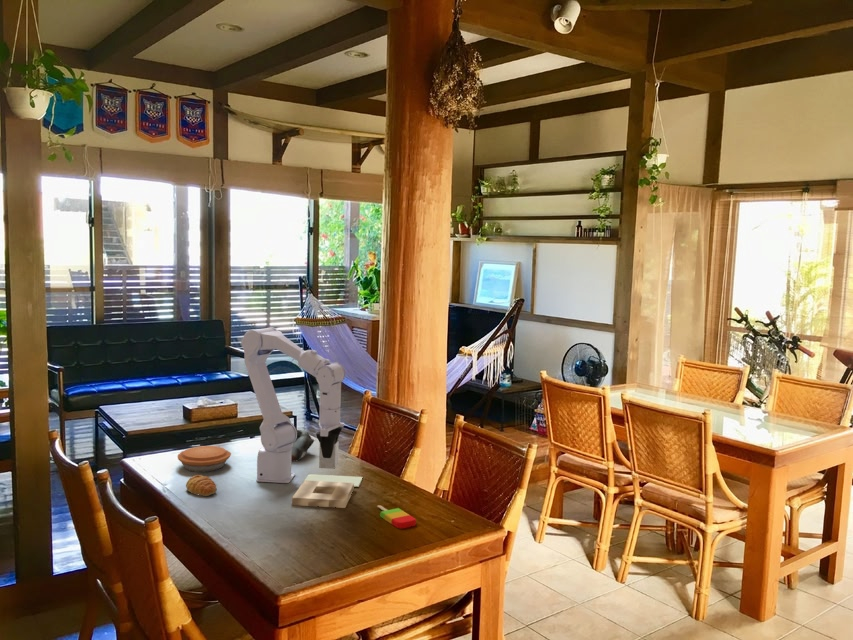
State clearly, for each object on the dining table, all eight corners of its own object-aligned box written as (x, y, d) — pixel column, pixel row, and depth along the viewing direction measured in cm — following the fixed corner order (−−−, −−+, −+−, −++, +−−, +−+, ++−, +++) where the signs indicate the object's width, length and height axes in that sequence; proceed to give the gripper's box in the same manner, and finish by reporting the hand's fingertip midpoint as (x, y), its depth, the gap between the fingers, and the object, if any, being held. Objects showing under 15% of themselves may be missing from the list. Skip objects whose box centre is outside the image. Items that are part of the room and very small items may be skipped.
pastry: (223, 493, 194) (223, 480, 193) (200, 499, 189) (200, 485, 188) (205, 485, 200) (205, 471, 199) (182, 490, 195) (182, 477, 194)
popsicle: (399, 531, 173) (399, 523, 173) (369, 510, 185) (369, 503, 185) (418, 526, 176) (418, 519, 176) (387, 507, 188) (387, 500, 188)
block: (319, 467, 196) (319, 443, 196) (322, 463, 201) (323, 438, 200) (334, 468, 196) (335, 444, 195) (338, 464, 200) (338, 439, 200)
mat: (302, 484, 202) (302, 483, 202) (308, 475, 210) (308, 474, 210) (358, 487, 201) (358, 486, 201) (362, 478, 209) (362, 476, 209)
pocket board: (292, 505, 186) (292, 497, 186) (304, 487, 200) (304, 480, 200) (345, 508, 185) (345, 500, 185) (353, 489, 199) (353, 482, 199)
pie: (201, 478, 205) (201, 461, 205) (166, 467, 214) (166, 451, 213) (241, 465, 218) (241, 449, 218) (207, 455, 227) (207, 440, 226)
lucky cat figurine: (298, 464, 221) (276, 426, 218) (270, 472, 226) (248, 435, 224) (321, 439, 234) (300, 403, 231) (294, 447, 239) (273, 412, 237)
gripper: (339, 414, 189) (337, 463, 191) (349, 402, 204) (348, 448, 205) (313, 412, 190) (311, 462, 191) (324, 400, 204) (323, 447, 206)
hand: (328, 455), depth 198 cm, fingers closed on block, 4 cm apart
